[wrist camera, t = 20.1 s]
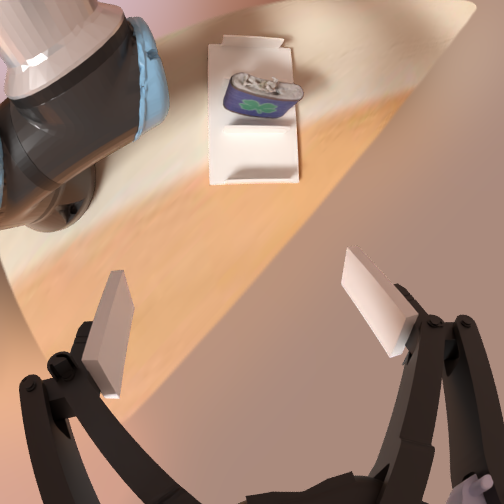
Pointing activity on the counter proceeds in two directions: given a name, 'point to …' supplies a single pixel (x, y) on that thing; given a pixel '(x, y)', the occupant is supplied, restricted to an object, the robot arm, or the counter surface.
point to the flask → (260, 96)
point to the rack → (249, 128)
